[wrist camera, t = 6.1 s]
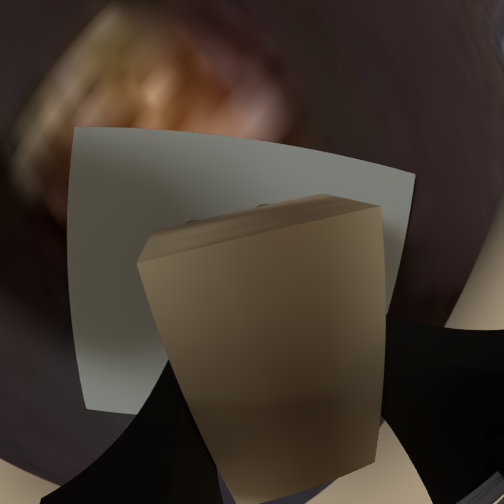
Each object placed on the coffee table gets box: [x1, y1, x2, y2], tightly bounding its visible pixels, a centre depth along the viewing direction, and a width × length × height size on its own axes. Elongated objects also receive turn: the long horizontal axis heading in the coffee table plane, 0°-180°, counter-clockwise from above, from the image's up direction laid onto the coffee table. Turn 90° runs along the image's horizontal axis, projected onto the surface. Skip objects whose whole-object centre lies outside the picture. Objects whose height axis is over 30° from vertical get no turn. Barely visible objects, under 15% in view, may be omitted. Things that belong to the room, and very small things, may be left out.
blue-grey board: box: [67, 127, 415, 414], centre depth 15 cm, size 16×14×1 cm
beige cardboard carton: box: [136, 194, 386, 504], centre depth 10 cm, size 5×9×6 cm, turn 11°
